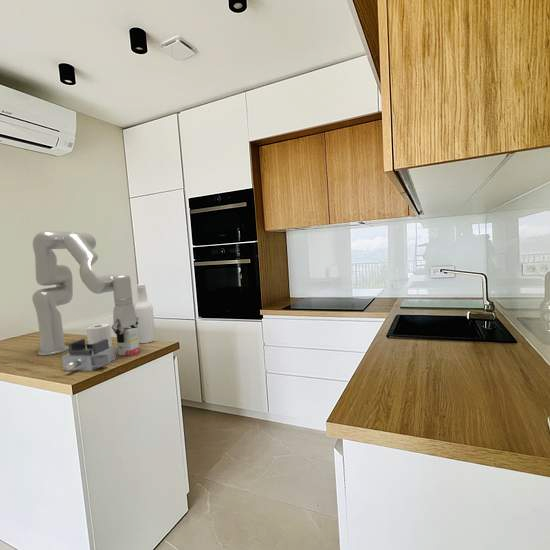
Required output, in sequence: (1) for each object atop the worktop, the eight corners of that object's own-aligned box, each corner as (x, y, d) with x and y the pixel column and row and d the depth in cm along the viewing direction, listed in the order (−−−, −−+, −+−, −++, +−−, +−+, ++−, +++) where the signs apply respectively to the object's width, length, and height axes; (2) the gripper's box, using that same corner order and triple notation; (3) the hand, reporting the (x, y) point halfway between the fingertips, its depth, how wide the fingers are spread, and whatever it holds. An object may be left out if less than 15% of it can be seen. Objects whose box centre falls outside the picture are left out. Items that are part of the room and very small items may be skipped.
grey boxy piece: (53, 374, 129) (50, 349, 128) (90, 358, 147) (87, 336, 146) (91, 375, 125) (88, 350, 124) (123, 359, 143) (121, 336, 142)
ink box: (140, 352, 151) (137, 327, 150) (131, 356, 146) (129, 330, 145) (126, 351, 154) (124, 326, 153) (118, 354, 150) (115, 329, 149)
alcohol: (144, 344, 163) (138, 285, 161) (134, 342, 168) (128, 285, 166) (159, 339, 171) (153, 283, 168) (148, 338, 176) (143, 283, 173)
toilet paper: (115, 349, 158) (112, 325, 157) (91, 355, 151) (88, 329, 150) (109, 345, 166) (106, 322, 165) (86, 351, 159) (83, 326, 158)
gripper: (129, 299, 157) (133, 334, 159) (102, 306, 141) (107, 345, 142) (142, 298, 156) (146, 334, 157) (117, 305, 139) (121, 345, 140)
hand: (127, 339), depth 150 cm, fingers open, 8 cm apart
